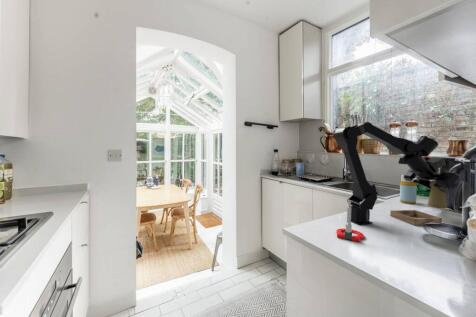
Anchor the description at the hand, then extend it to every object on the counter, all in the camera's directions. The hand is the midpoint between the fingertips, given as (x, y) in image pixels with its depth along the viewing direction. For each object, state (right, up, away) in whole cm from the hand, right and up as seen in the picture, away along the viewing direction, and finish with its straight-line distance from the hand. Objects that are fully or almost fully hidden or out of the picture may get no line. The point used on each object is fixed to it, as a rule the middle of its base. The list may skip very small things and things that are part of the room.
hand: (440, 190), depth 87 cm
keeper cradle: (-11, -12, 0) cm, 17 cm away
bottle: (+9, -11, +28) cm, 31 cm away
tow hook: (-46, -13, -15) cm, 51 cm away
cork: (-1, -7, 0) cm, 7 cm away
